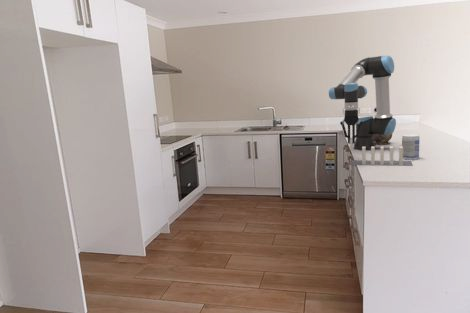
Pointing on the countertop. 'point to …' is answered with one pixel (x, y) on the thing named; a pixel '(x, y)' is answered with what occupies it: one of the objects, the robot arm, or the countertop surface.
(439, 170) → the countertop surface
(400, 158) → the domino
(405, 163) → the mat
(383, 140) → the ceramic jug
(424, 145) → the countertop surface
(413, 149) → the supplement tub
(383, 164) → the domino
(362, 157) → the domino
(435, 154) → the countertop surface
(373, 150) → the domino
